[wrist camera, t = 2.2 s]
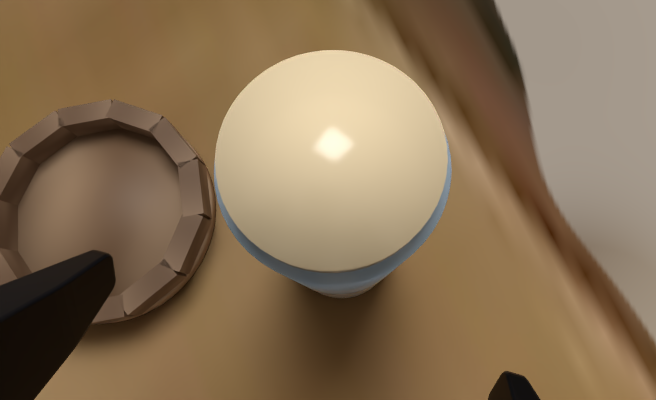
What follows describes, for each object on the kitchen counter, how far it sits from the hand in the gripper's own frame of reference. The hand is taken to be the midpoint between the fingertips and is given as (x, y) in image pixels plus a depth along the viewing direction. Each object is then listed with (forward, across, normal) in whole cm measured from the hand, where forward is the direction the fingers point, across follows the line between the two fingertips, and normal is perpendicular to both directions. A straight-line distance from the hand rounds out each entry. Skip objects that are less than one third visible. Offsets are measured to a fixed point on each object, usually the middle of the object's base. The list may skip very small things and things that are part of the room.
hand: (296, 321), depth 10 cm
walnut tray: (+8, +11, +6) cm, 15 cm away
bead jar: (+9, 0, +5) cm, 11 cm away
